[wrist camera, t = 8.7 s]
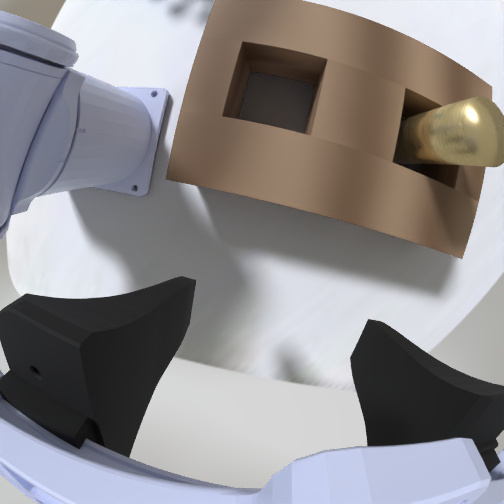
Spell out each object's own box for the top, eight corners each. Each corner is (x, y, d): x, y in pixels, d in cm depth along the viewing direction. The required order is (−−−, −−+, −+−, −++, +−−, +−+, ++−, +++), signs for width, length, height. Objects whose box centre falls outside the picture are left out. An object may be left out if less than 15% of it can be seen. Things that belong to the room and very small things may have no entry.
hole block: (192, 176, 19) (165, 179, 14) (231, 25, 15) (219, -10, 11) (426, 239, 19) (462, 258, 14) (455, 98, 15) (492, 86, 10)
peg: (376, 156, 17) (461, 150, 8) (383, 117, 16) (466, 83, 7) (411, 169, 17) (505, 177, 8) (418, 131, 16) (511, 115, 7)
